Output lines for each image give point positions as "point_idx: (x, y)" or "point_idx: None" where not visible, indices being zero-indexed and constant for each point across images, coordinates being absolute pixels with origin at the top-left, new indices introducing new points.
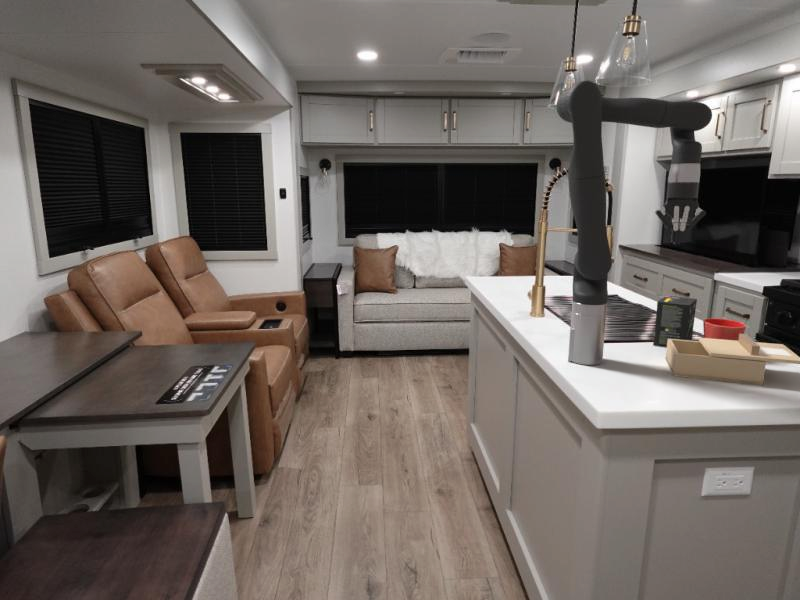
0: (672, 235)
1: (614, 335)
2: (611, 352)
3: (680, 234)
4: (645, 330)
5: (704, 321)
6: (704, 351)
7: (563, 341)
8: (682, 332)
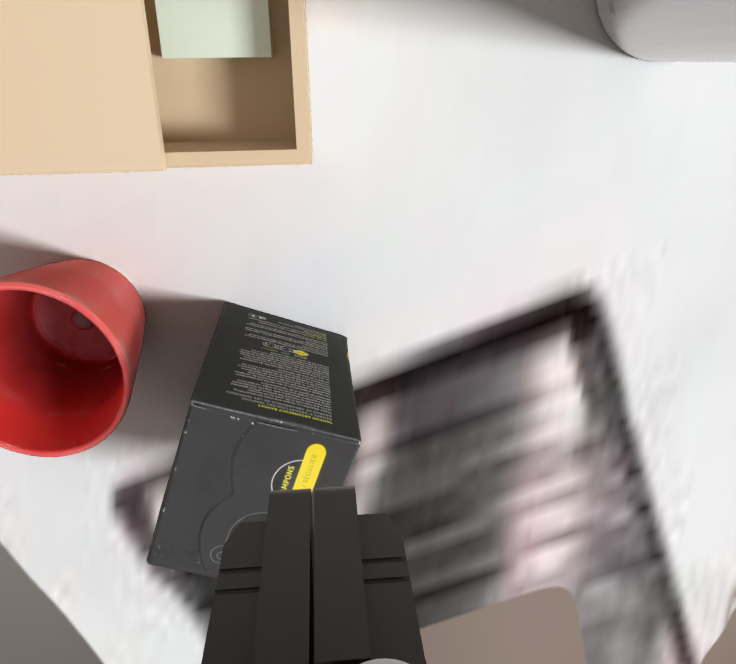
0: (411, 597)
1: (488, 426)
2: (532, 161)
3: (270, 610)
4: None
5: (125, 363)
6: None
7: (715, 259)
8: (233, 335)
